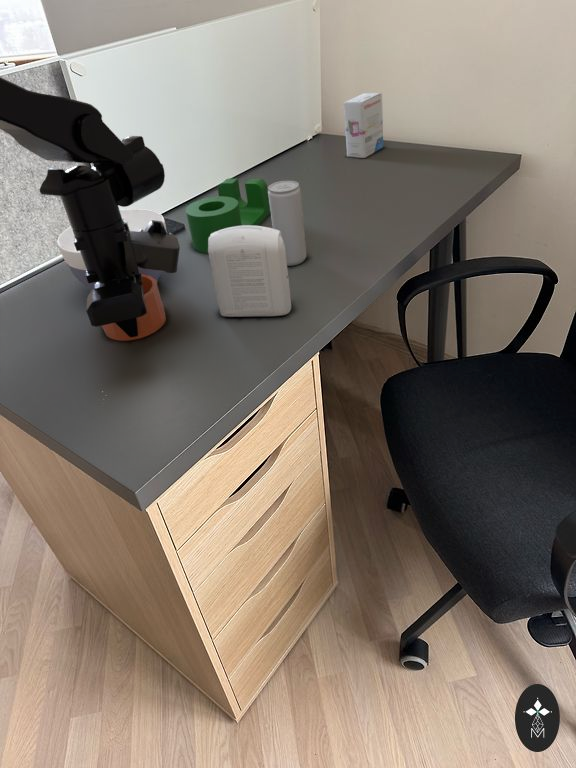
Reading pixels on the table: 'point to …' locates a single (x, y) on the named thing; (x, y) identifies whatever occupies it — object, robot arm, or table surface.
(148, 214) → the bowl
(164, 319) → the cup
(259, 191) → the green bracket
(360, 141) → the ink box
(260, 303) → the white rounded block
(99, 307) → the robot arm
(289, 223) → the beverage can
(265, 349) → the table surface
